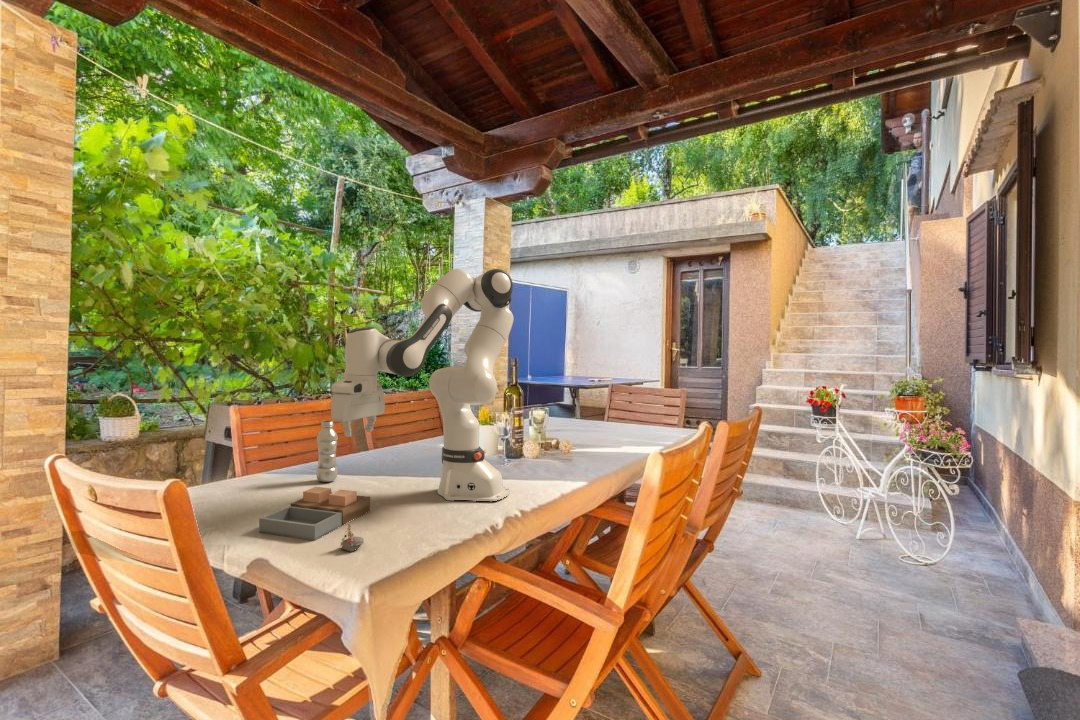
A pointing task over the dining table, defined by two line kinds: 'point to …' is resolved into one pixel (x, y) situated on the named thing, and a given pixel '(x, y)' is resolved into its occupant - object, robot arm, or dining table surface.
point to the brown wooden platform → (339, 507)
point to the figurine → (351, 541)
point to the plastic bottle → (327, 452)
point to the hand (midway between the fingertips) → (359, 434)
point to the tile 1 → (316, 494)
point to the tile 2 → (342, 497)
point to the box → (300, 523)
